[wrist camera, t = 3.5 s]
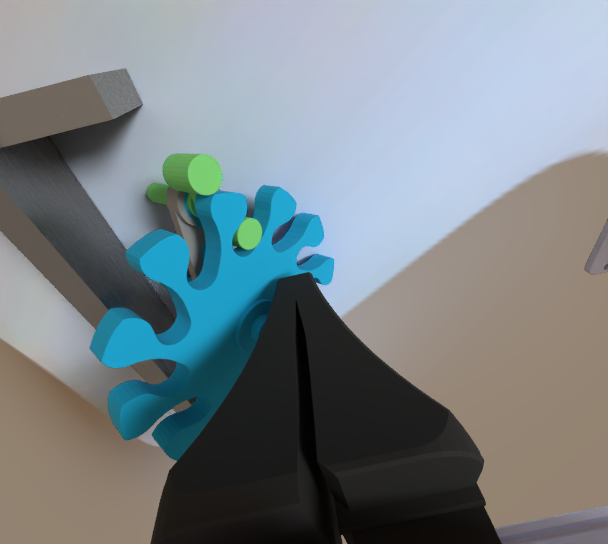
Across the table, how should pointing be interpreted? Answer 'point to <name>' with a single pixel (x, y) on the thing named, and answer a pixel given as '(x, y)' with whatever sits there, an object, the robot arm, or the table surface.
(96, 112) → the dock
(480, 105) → the table surface
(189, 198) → the gear
